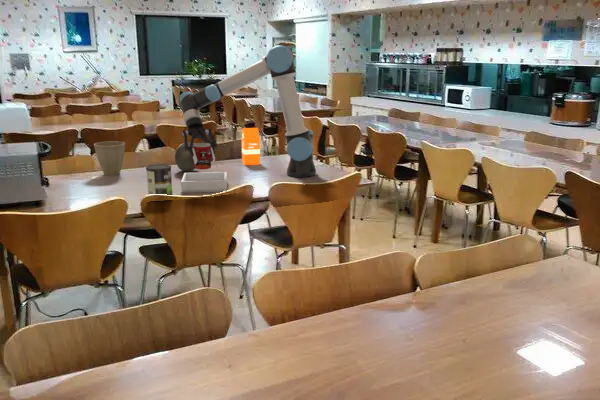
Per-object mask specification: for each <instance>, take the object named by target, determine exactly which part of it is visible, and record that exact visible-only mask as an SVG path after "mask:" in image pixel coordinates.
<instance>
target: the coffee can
mask: <svg viewBox="0 0 600 400" xmlns="http://www.w3.org/2000/svg"><path fill="white" fill-rule="evenodd" d="M145 169H146V179H147V180H146V182H147V195H149V194H167V195H173V182H172V181H173V180H172V165H169V164H167V163H166V164H165V163H164V164H163V163H160V164H159V163H158V164H150V165H147V166H146V167H145Z"/></svg>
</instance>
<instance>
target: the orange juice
mask: <svg viewBox="0 0 600 400" xmlns="http://www.w3.org/2000/svg"><path fill="white" fill-rule="evenodd" d="M260 140H261V139H260V134H259V128H258V127H243V128H242V132H241V163H242V164H243V166H244V165H245V166H253V165H255V166H256V165H261V141H260Z"/></svg>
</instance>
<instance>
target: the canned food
mask: <svg viewBox="0 0 600 400" xmlns="http://www.w3.org/2000/svg"><path fill="white" fill-rule="evenodd" d="M193 144H194V150H195V154H196V157H197V163H196V164H195V169H196V170H209V169H211V168H212V159H211V144H209V143H205V142H197V143H193Z"/></svg>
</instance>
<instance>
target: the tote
mask: <svg viewBox="0 0 600 400" xmlns="http://www.w3.org/2000/svg"><path fill="white" fill-rule="evenodd" d="M227 174H228V173H227V171H212V172H211V171H210V172H209V171H204V172H201V171H200V172H184V173H183V175H182V178H181V181H180V185H181V186H180V187H181V189H180V190H181V193H218V192H220V191H224V190H228V175H227Z"/></svg>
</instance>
